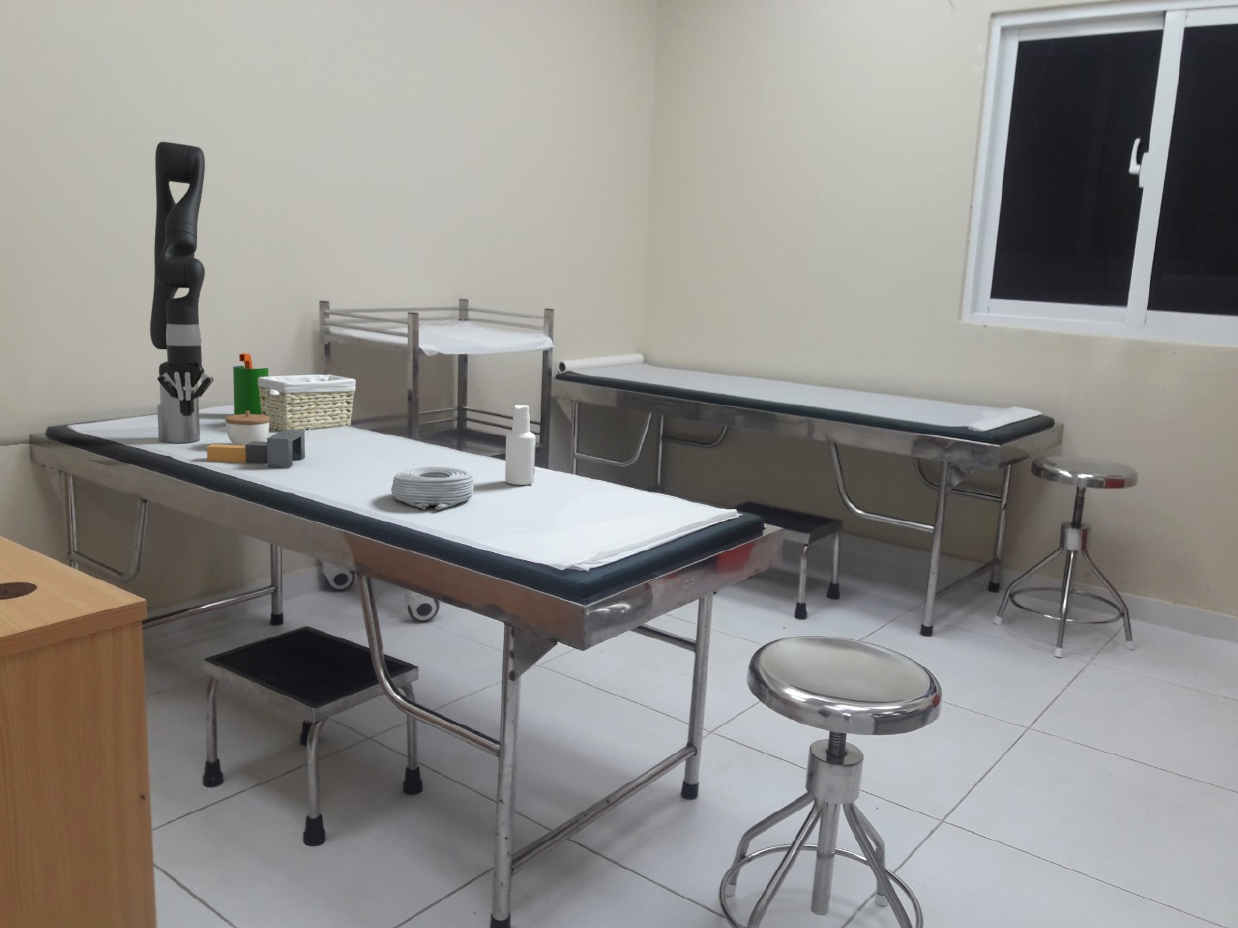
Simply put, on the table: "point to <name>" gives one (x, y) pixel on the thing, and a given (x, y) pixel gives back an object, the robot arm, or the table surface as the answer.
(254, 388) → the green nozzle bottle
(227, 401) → the table surface
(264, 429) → the lidded jar
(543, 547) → the table surface
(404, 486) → the cable
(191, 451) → the table surface
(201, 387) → the robot arm
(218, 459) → the plug
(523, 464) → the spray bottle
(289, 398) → the storage basket
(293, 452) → the housing
